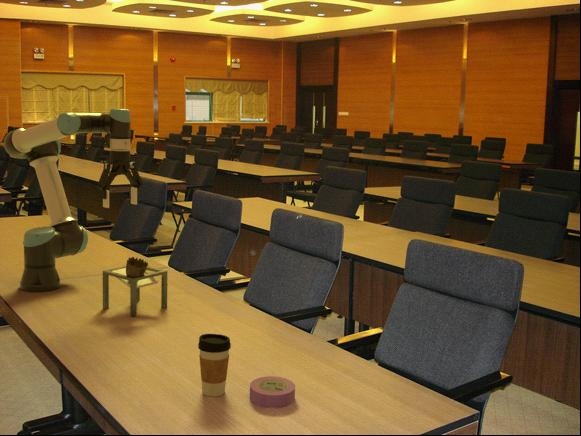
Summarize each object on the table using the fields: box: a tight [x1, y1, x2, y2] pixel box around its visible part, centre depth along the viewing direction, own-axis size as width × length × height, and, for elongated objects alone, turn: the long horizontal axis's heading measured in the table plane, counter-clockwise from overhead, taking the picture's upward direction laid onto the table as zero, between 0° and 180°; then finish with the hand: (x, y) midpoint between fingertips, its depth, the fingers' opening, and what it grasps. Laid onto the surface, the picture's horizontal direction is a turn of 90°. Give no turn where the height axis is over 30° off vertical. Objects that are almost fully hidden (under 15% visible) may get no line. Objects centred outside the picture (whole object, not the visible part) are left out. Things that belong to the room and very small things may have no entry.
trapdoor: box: [111, 268, 159, 289], centre depth 245 cm, size 12×12×1 cm
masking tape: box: [249, 375, 296, 409], centre depth 175 cm, size 12×12×4 cm
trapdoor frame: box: [102, 265, 168, 319], centre depth 246 cm, size 16×16×14 cm
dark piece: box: [125, 256, 149, 282], centre depth 239 cm, size 8×7×8 cm
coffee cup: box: [197, 333, 232, 398], centre depth 177 cm, size 8×8×15 cm
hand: (120, 205), depth 259 cm, fingers open, 13 cm apart
